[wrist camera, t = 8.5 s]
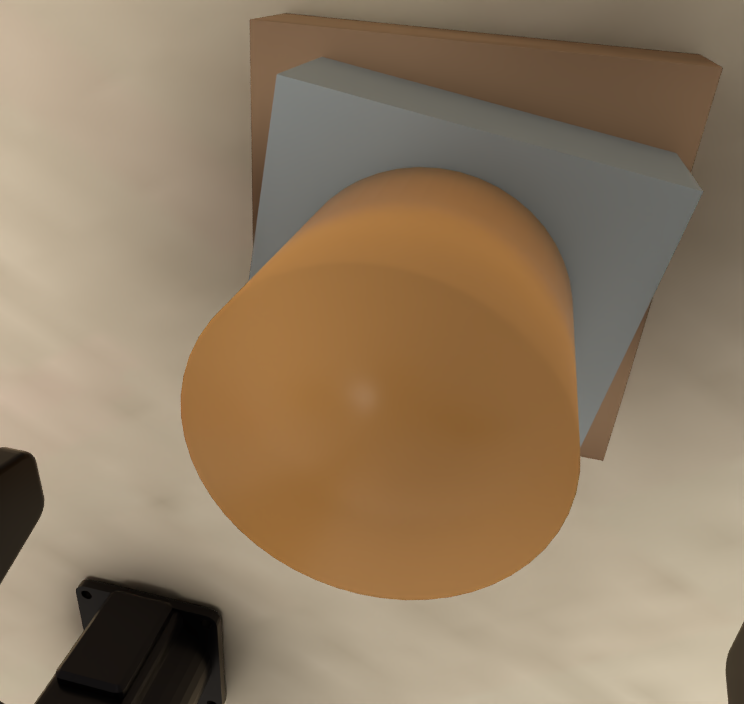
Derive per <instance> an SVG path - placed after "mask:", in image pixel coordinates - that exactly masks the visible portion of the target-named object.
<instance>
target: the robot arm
mask: <svg viewBox="0 0 744 704" xmlns="http://www.w3.org/2000/svg"><path fill="white" fill-rule="evenodd" d="M43 507H44V494H43V490H42V486H41V481H40V477H39V472H38V468H37V463H36V460H35V458H34V457H33V455H32V454H31V453H29V452H26V451H22V450H17V449H12V448H7V447H1V448H0V584H1V582H2V581H3V579H4V577H5V575H6V574H7V572H8V570H9V569H10V567H11V565H12V564H13V562H14V560H15V559H16V557H17V555H18V554H19V552H20V550H21V549H22V547H23V545H24V544H25V542H26V540H27V539H28V537H29V535H30V534H31V532H32V530H33V529H34V527H35V525H36V523H37V522H38V520H39V518H40V516H41V514H42V511H43ZM76 595H77V600H78V604H79V609H80V614H81V619H82V624H83V628H84V632H83V633H82V634H81V636H80V637H79V639H78V640H77V642H76V643H75V644H74V646H73V647H72V649H71V650H70V651H69V653H68V654H67V656H66V657H65V659H64V660H63V661H62V663H61V664H60V666H59V667H58V669H57V671H56V673H55V675H54V676H53V678H52V679H51V681H50V682H49V683H48V685H47V686H46V688H45V689H44V691H43V692H42V694H41V695H40V696H39V698H38V699H37V701H36V702H35V704H224V703H225V700H226V694H225V677H224V660H223V643H222V626H221V617H220V615H219V614H218V613H217V612H216V611H215V610H213V609H210V608H206V607H202V606H198V605H194V604H190V603H185V602H181V601H177V600H173V599H169V598H165V597H160V596H156V595H152V594H148V593H144V592H140V591H135V590H131V589H127V588H123V587H119V586H114V585H110V584H106V583H102V582H98V581H94V580H88V579H86V580H83V581H82V582H81V584H80V585H79V586H78V588H77V589H76ZM726 682H727V693H728V704H744V622H743V624H742V626H741V628H740V630H739V632H738V634H737V636H736V638H735V640H734V642H733V644H732V646H731V648H730V650H729V653H728V656H727V661H726ZM0 704H4V703H2V702H1V701H0Z"/></svg>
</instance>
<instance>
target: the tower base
mask: <svg viewBox="0 0 744 704" xmlns="http://www.w3.org/2000/svg"><path fill="white" fill-rule="evenodd" d="M320 57H325V58H328V59H332V60H336V61H339V62H343V63H347V64H350V65H354V66H358V67H361V68H365V69H369V70H372V71H376V72H380V73H384V74H387V75H391V76H395V77H398V78H402V79H406V80H409V81H413V82H417V83H420V84H424V85H428V86H431V87H435V88H439V89H442V90H446V91H450V92H453V93H457V94H461V95H464V96H468V97H472V98H475V99H479V100H483V101H486V102H490V103H494V104H498V105H501V106H505V107H509V108H512V109H516V110H520V111H523V112H527V113H531V114H534V115H538V116H542V117H545V118H549V119H553V120H556V121H560V122H564V123H567V124H571V125H575V126H578V127H582V128H586V129H589V130H593V131H597V132H600V133H604V134H608V135H612V136H615V137H619V138H623V139H626V140H630V141H634V142H637V143H641V144H645V145H648V146H652V147H656V148H659V149H663V150H667V151H670V152H674V153H677V154H678V156H679V157H680V159H681V160H682V162H683V163H684V164H685V166H686V167H687V169H688V170H689V172H690V173H691V170H692V167H693V164H694V161H695V157H696V154H697V151H698V147H699V144H700V141H701V138H702V134H703V131H704V128H705V124H706V121H707V118H708V115H709V111H710V108H711V105H712V101H713V98H714V95H715V92H716V88H717V85H718V82H719V78H720V75H721V72H722V69H723V68H722V67H720V66H719V65H717V64H715V63H714V62H712V61H710V60H708V59H707V58H705V57H703V56H702V55H699V54H689V53H679V52H669V51H659V50H649V49H639V48H629V47H619V46H609V45H599V44H589V43H579V42H568V41H558V40H548V39H538V38H528V37H518V36H508V35H498V34H488V33H478V32H468V31H458V30H448V29H438V28H428V27H418V26H408V25H398V24H388V23H377V22H367V21H357V20H347V19H337V18H327V17H317V16H307V15H297V14H287V13H285V14H279V15H273V16H267V17H262V18H256V19H250V64H251V133H252V202H253V246H254V239H255V231H256V224H257V217H258V209H259V202H260V194H261V187H262V180H263V172H264V165H265V157H266V150H267V142H268V135H269V128H270V120H271V113H272V105H273V98H274V91H275V83H276V76H277V74H278V73H281V72H284V71H286V70H289V69H291V68H294V67H296V66H299V65H302V64H304V63H307V62H309V61H312V60H315V59H317V58H320ZM652 299H653V297H652ZM651 302H652V300H651ZM651 302H650V304H649V306H648V308H647V310H646V312H645V314H644V316H643V318H642V320H641V322H640V324H639V327H638V329H637V331H636V333H635V335H634V337H633V339H632V341H631V343H630V345H629V347H628V349H627V352H626V354H625V356H624V358H623V360H622V362H621V364H620V366H619V368H618V370H617V372H616V374H615V376H614V379H613V381H612V383H611V385H610V387H609V389H608V391H607V393H606V395H605V397H604V399H603V401H602V404H601V406H600V408H599V410H598V412H597V414H596V416H595V418H594V420H593V422H592V424H591V426H590V428H589V431H588V433H587V435H586V437H585V439H584V441H583V443H582V445H581V447H580V456H582V457H587V458H592V459H597V460H602V461H603V459H604V456H605V453H606V450H607V446H608V443H609V440H610V436H611V433H612V430H613V427H614V423H615V420H616V417H617V413H618V410H619V407H620V404H621V400H622V397H623V394H624V391H625V387H626V384H627V381H628V377H629V374H630V371H631V368H632V364H633V361H634V358H635V354H636V351H637V348H638V345H639V341H640V338H641V335H642V331H643V328H644V325H645V322H646V318H647V315H648V312H649V308H650V305H651Z"/></svg>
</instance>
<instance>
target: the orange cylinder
mask: <svg viewBox="0 0 744 704" xmlns="http://www.w3.org/2000/svg"><path fill="white" fill-rule="evenodd" d="M181 419H182V425H183V431H184V437H185V441H186V444H187V447H188V450H189V454H190V457H191V459H192V462H193V464H194V466H195V468H196V470H197V473H198V475H199V477H200V479H201V481H202V482H203V484H204V486H205V487H206V489H207V491H208V492H209V494H210V495H211V497H212V498H213V500H214V501H215V502H216V504H217V505H218V506H219V507H220V509H221V510H222V511H223V513H224V514H225V515H226V516H227V517H228V518H229V519H230V520H231V521H232V523H233V524H234V525H235V526H236V527H237V528H238V529H239V530H240V531H241V532H242V533H244V534H245V535H246V536H247V537H248V538H249V539H250V540H251V541H253V542H254V543H255V544H256V545H257V546H259V547H260V548H261V549H263V550H264V551H266V552H267V553H268V554H270V555H271V556H273V557H274V558H275V559H277V560H279V561H280V562H282V563H284V564H286V565H287V566H289V567H291V568H292V569H294V570H296V571H298V572H300V573H302V574H304V575H306V576H309V577H311V578H313V579H315V580H317V581H320V582H323V583H325V584H328V585H331V586H333V587H336V588H339V589H343V590H347V591H350V592H354V593H358V594H362V595H368V596H373V597H379V598H388V599H400V600H429V599H437V598H446V597H452V596H457V595H461V594H465V593H470V592H473V591H476V590H479V589H482V588H485V587H487V586H490V585H493V584H495V583H497V582H499V581H501V580H503V579H505V578H507V577H509V576H511V575H512V574H514V573H515V572H517V571H518V570H520V569H521V568H523V567H524V566H526V565H527V564H529V563H530V562H531V561H532V560H533V559H534V558H535V557H536V556H538V555H539V554H540V553H541V552H542V551H543V550H544V549H545V548H546V547H547V546H548V544H549V543H550V542H551V541H552V539H553V538H554V537H555V536H556V534H557V533H558V532H559V530H560V528H561V526H562V525H563V523H564V521H565V519H566V518H567V516H568V514H569V511H570V509H571V506H572V503H573V500H574V498H575V495H576V491H577V485H578V480H579V474H580V436H579V417H578V397H577V378H576V358H575V339H574V319H573V300H572V292H571V285H570V279H569V276H568V273H567V269H566V266H565V263H564V260H563V258H562V256H561V254H560V252H559V250H558V248H557V246H556V244H555V242H554V241H553V239H552V238H551V236H550V235H549V233H548V232H547V230H546V229H545V227H544V226H543V225H542V224H541V223H540V221H539V220H538V219H537V218H536V217H535V216H534V215H533V214H532V212H531V211H529V210H528V209H527V208H526V207H525V206H524V205H522V204H521V203H520V202H519V201H518V200H517V199H515V198H514V197H512V196H511V195H509V194H508V193H506V192H505V191H503V190H502V189H500V188H498V187H496V186H494V185H492V184H490V183H488V182H486V181H484V180H482V179H480V178H477V177H474V176H471V175H468V174H464V173H461V172H458V171H452V170H447V169H441V168H428V167H412V168H400V169H394V170H390V171H385V172H381V173H377V174H374V175H372V176H369V177H366V178H364V179H361V180H359V181H357V182H355V183H353V184H352V185H350V186H348V187H346V188H344V189H343V190H341V191H340V192H339V193H337V194H336V195H335V196H333V197H332V198H331V199H329V200H328V201H327V202H326V203H325V204H324V205H323V206H322V207H321V208H320V209H319V210H318V211H317V212H316V213H315V214H314V215H313V216H312V217H311V218H310V219H309V220H308V221H307V222H306V223H305V224H304V225H303V226H302V228H301V229H300V230H299V231H298V232H297V233H296V234H295V235H294V236H293V237H292V238H291V239H290V240H289V241H288V242H287V243H286V244H285V245H284V246H283V247H282V248H281V249H280V250H279V251H278V252H277V253H276V254H275V255H274V256H273V257H272V258H271V259H270V260H269V261H268V262H267V263H266V264H265V265H264V266H263V267H262V268H261V269H260V270H259V271H258V272H257V273H256V274H255V275H254V276H253V277H252V278H251V279H250V280H249V282H248V283H247V284H246V285H245V286H244V287H243V288H242V289H241V290H240V291H239V292H238V293H237V294H236V295H235V296H234V297H233V298H232V299H231V300H230V301H229V302H228V303H227V304H226V305H225V306H224V307H223V308H222V309H221V310H220V311H219V312H218V313H217V314H216V315H215V316H214V317H213V318H212V319H211V321H210V322H209V323H208V325H207V326H206V328H205V329H204V330H203V332H202V333H201V335H200V336H199V338H198V340H197V342H196V344H195V346H194V348H193V350H192V352H191V354H190V356H189V359H188V363H187V366H186V369H185V373H184V376H183V383H182V391H181Z"/></svg>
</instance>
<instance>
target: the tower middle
mask: <svg viewBox="0 0 744 704" xmlns="http://www.w3.org/2000/svg"><path fill="white" fill-rule="evenodd" d="M412 167H428V168H441V169H447V170H452V171H458V172H461V173H464V174H468V175H471V176H474V177H477V178H480V179H482V180H484V181H486V182H488V183H490V184H492V185H494V186H496V187H498V188H500V189H502V190H503V191H505V192H506V193H508V194H509V195H511V196H512V197H514V198H515V199H517V200H518V201H519V202H520V203H521V204H522V205H524V206H525V207H526V208H527V209H528V210H529V211H531V212H532V214H533V215H534V216H535V217H536V218H537V219H538V220H539V221H540V223H541V224H542V225H543V226H544V227H545V229H546V230H547V232H548V233H549V235H550V236H551V238H552V239H553V241H554V242H555V244H556V246H557V248H558V250H559V252H560V254H561V256H562V258H563V260H564V263H565V266H566V269H567V273H568V276H569V279H570V285H571V292H572V300H573V319H574V339H575V358H576V378H577V397H578V417H579V436H580V447H581V445H582V443H583V441H584V439H585V437H586V435H587V433H588V431H589V428H590V426H591V424H592V422H593V420H594V418H595V416H596V414H597V412H598V410H599V408H600V406H601V404H602V401H603V399H604V397H605V395H606V393H607V391H608V389H609V387H610V385H611V383H612V381H613V379H614V376H615V374H616V372H617V370H618V368H619V366H620V364H621V362H622V360H623V358H624V356H625V354H626V352H627V349H628V347H629V345H630V343H631V341H632V339H633V337H634V335H635V333H636V331H637V329H638V327H639V324H640V322H641V320H642V318H643V316H644V314H645V312H646V310H647V308H648V306H649V304H650V302H651V300H652V297H653V295H654V293H655V291H656V289H657V287H658V285H659V283H660V281H661V279H662V277H663V275H664V272H665V270H666V268H667V266H668V264H669V262H670V260H671V258H672V256H673V254H674V252H675V250H676V248H677V245H678V243H679V241H680V239H681V237H682V235H683V233H684V231H685V229H686V227H687V225H688V223H689V220H690V218H691V216H692V214H693V212H694V210H695V208H696V206H697V204H698V202H699V200H700V198H701V196H702V193H703V190H702V189H701V187H700V186H699V184H698V183H697V182H696V180H695V179H694V177H693V176H692V174H691V173H690V172H689V170H688V169H687V167H686V166H685V164H684V163H683V162H682V160H681V159H680V157H679V156H678V154H677V153H674V152H670V151H667V150H663V149H659V148H656V147H652V146H648V145H645V144H641V143H637V142H634V141H630V140H626V139H623V138H619V137H615V136H612V135H608V134H604V133H600V132H597V131H593V130H589V129H586V128H582V127H578V126H575V125H571V124H567V123H564V122H560V121H556V120H553V119H549V118H545V117H542V116H538V115H534V114H531V113H527V112H523V111H520V110H516V109H512V108H509V107H505V106H501V105H498V104H494V103H490V102H486V101H483V100H479V99H475V98H472V97H468V96H464V95H461V94H457V93H453V92H450V91H446V90H442V89H439V88H435V87H431V86H428V85H424V84H420V83H417V82H413V81H409V80H406V79H402V78H398V77H395V76H391V75H387V74H384V73H380V72H376V71H372V70H369V69H365V68H361V67H358V66H354V65H350V64H347V63H343V62H339V61H336V60H332V59H328V58H325V57H320V58H317V59H315V60H312V61H309V62H307V63H304V64H302V65H299V66H296V67H294V68H291V69H289V70H286V71H284V72H281V73H278V74H277V76H276V83H275V91H274V98H273V105H272V113H271V120H270V128H269V135H268V142H267V150H266V157H265V165H264V172H263V180H262V187H261V194H260V202H259V209H258V217H257V224H256V231H255V239H254V246H253V254H252V261H251V269H250V276H249V280H250V279H251V278H252V277H253V276H254V275H255V274H256V273H257V272H258V271H259V270H260V269H261V268H262V267H263V266H264V265H265V264H266V263H267V262H268V261H269V260H270V259H271V258H272V257H273V256H274V255H275V254H276V253H277V252H278V251H279V250H280V249H281V248H282V247H283V246H284V245H285V244H286V243H287V242H288V241H289V240H290V239H291V238H292V237H293V236H294V235H295V234H296V233H297V232H298V231H299V230H300V229H301V228H302V226H303V225H304V224H305V223H306V222H307V221H308V220H309V219H310V218H311V217H312V216H313V215H314V214H315V213H316V212H317V211H318V210H319V209H320V208H321V207H322V206H323V205H324V204H325V203H326V202H327V201H328V200H329V199H331V198H332V197H333V196H335V195H336V194H337V193H339V192H340V191H341V190H343V189H344V188H346V187H348V186H350V185H352V184H353V183H355V182H357V181H359V180H361V179H364V178H366V177H369V176H372V175H374V174H377V173H381V172H385V171H390V170H394V169H400V168H412Z"/></svg>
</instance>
